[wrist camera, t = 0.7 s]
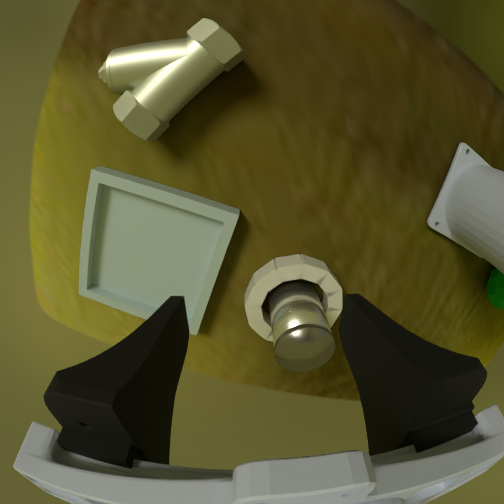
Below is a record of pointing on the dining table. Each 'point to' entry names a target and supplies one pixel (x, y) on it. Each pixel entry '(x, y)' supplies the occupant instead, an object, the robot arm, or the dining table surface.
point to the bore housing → (287, 271)
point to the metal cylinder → (299, 326)
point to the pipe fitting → (166, 75)
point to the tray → (151, 245)
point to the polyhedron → (496, 288)
